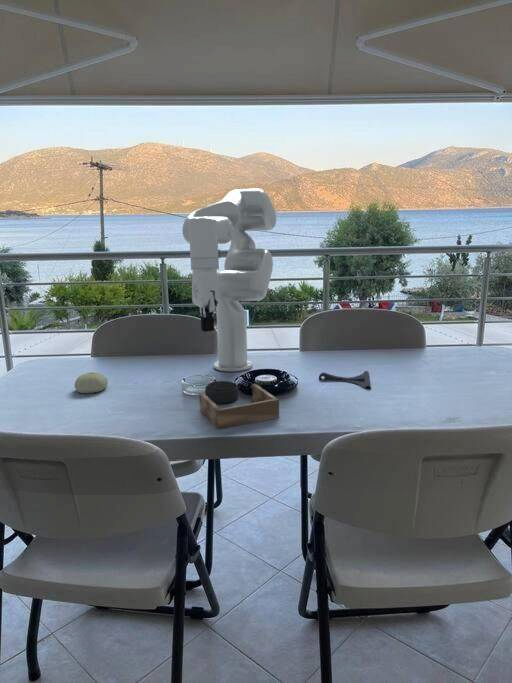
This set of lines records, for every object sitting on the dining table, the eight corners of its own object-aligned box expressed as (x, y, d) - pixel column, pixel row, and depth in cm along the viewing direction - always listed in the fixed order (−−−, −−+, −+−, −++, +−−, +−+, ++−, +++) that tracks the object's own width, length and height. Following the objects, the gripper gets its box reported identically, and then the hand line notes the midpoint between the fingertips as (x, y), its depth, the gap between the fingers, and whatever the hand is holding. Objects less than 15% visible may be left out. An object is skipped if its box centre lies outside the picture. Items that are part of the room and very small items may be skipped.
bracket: (320, 374, 152) (320, 365, 151) (368, 375, 149) (369, 367, 149) (317, 389, 138) (317, 380, 138) (370, 391, 135) (371, 382, 135)
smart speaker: (242, 402, 128) (242, 388, 127) (210, 407, 125) (209, 392, 124) (232, 392, 136) (232, 378, 135) (202, 396, 133) (201, 382, 132)
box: (200, 409, 123) (199, 393, 122) (256, 399, 129) (255, 383, 128) (218, 429, 111) (217, 410, 110) (279, 417, 117) (278, 399, 116)
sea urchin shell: (115, 379, 143) (102, 366, 137) (106, 403, 140) (91, 391, 133) (90, 376, 146) (75, 363, 140) (80, 400, 143) (64, 388, 136)
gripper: (183, 263, 136) (187, 327, 140) (200, 266, 122) (203, 337, 127) (208, 262, 139) (211, 324, 143) (227, 265, 125) (230, 334, 130)
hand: (207, 330), depth 135 cm, fingers closed
